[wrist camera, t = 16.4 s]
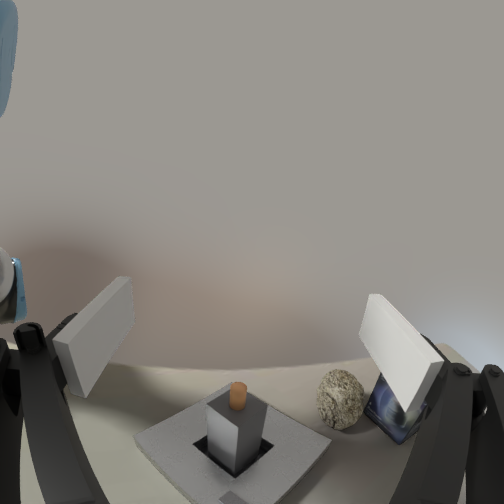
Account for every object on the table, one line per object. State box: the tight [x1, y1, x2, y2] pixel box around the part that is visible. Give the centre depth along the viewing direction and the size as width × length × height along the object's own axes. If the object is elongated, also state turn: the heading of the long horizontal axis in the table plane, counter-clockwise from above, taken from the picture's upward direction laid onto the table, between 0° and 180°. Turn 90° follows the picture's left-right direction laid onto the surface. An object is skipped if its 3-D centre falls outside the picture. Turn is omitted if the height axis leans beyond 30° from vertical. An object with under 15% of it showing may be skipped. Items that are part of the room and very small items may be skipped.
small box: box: [363, 373, 428, 445], centre depth 37 cm, size 11×6×10 cm, turn 24°
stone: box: [317, 369, 364, 430], centre depth 39 cm, size 6×10×10 cm, turn 4°
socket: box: [133, 382, 332, 504], centre depth 32 cm, size 20×20×4 cm
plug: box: [206, 382, 268, 475], centre depth 30 cm, size 5×5×15 cm
